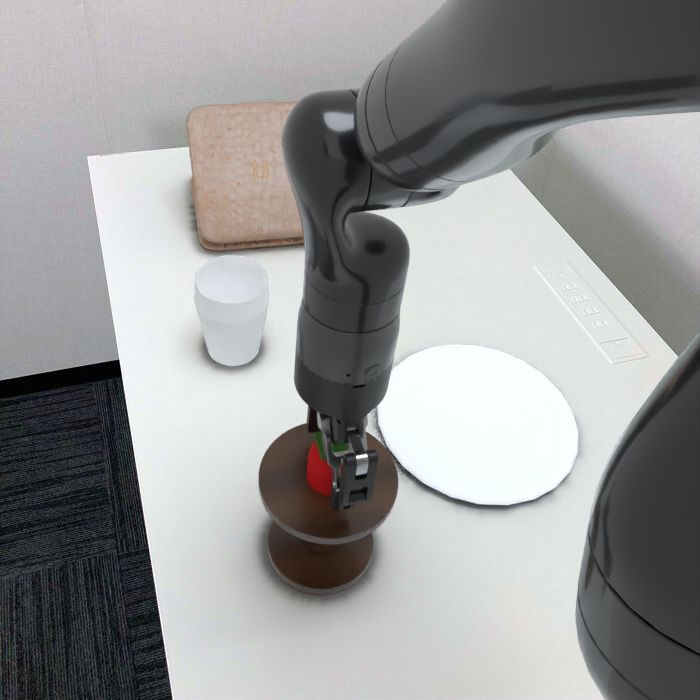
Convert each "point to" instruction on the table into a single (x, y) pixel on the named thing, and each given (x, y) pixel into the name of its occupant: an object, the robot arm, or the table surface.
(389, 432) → the plate
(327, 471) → the strawberry
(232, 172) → the case
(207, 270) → the cup
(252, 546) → the table surface
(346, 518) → the stand
